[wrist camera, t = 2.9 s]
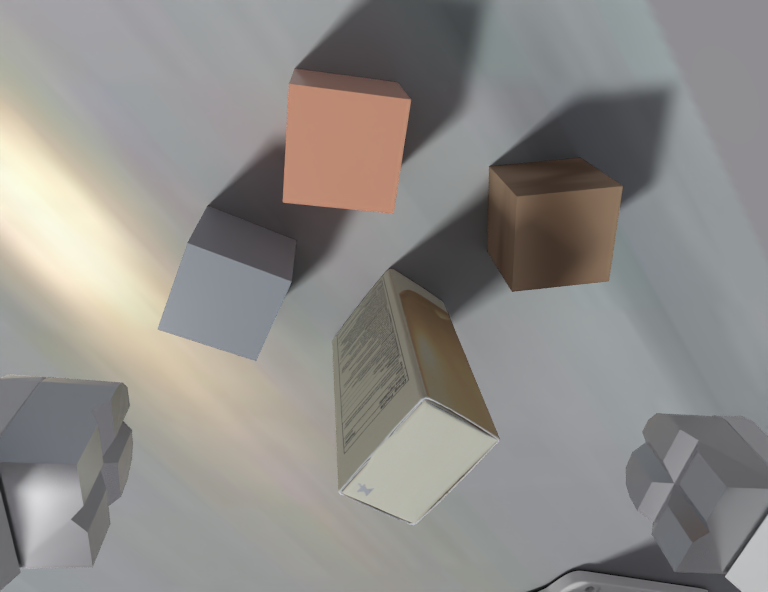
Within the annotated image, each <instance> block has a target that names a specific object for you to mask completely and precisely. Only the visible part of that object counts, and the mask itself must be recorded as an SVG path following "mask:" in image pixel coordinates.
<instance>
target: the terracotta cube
mask: <svg viewBox="0 0 768 592" xmlns="http://www.w3.org/2000/svg"><path fill="white" fill-rule="evenodd" d="M410 105H411V99H410V98H409V96H408V95H407V94H406V92H405V91H404V90H403V89H402V87H401V86H400V85H399V83H398V82H392V81H384V80H377V79H369V78H362V77H355V76H347V75H340V74H332V73H325V72H318V71H310V70H303V69H294V72H293V74H292V77H291V80H290V82H289V93H288V111H287V130H286V148H285V167H284V185H283V203H292V204H302V205H312V206H322V207H332V208H342V209H352V210H362V211H372V212H382V213H392V214H394V208H395V202H396V195H397V189H398V182H399V176H400V169H401V163H402V156H403V150H404V143H405V137H406V130H407V124H408V117H409V111H410Z"/></svg>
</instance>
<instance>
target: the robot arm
mask: <svg viewBox="0 0 768 592" xmlns="http://www.w3.org/2000/svg"><path fill="white" fill-rule="evenodd" d="M129 406H130V403H129V396H128V388H127V386H126V385H125V384H124V383H120V382H107V381H94V380H81V379H69V378H56V377H48V378H45V377H37V376H23V375H7V376H4V377H2V378H0V590H2V589H3V588H4V587H5V586H6V585H7V584H8V583H9V582H11V581H12V580H13V579H14V578H15V577H16V576H17V575H18V574H20V569H26V568H80V567H93V565H94V563H95V560H96V558H97V555H98V553H99V550H100V548H101V545H102V543H103V540H104V538H105V535H106V533H107V531H108V528H109V526H110V516H109V507H108V506H109V505H110V504H112V503H113V502H114V501H116V500H117V499H118V498H120V497H121V495H122V493H123V490H124V487H125V485H126V482H127V479H128V475H129V470H130V466H131V461H132V449H133V438H132V430H131V429H130V428H129V427H128V426H127V425H126V423H125V422H124V421H123V420H124V418H125V415H126V413H127V411H128V409H129ZM643 435H644V438H645V441H646V443H644V444H643V445H642V446H640V447H639V448H638V449H636V450H635V451H633V452H632V454H631V457H630V459H629V462H628V464H627V466H626V486H627V489H628V493H629V496H630V498H631V500H632V502H633V504H634V505H635V507H636V509H637V510H638V511H639V512H640V513H642V514H643V515H644V516H645V517H647V518H648V519H649V520H651V521H652V522H653V528H652V536H653V537H654V539H655V541H656V542H657V544H658V546H659V547H660V549H661V550H662V552H663V554H664V555H665V557H666V559H667V560H668V562H669V564H670V565H671V567H672V569H673V570H674V572H683V573H709V574H726V576H725V577H726V578H727V579H728V580H729V581H730V582H731V583H732V584H733V585H735V586H736V587H737V588H738V589H739V590H740V591H741V592H768V436H767V435H766V434H765V433H764V432H763V431H762V430H761V429H760V428H759V427H758V426H757V425H756V424H755V423H754V422H753V421H751V420H749V419H747V418H745V417H743V416H716V415H714V416H699V415H679V414H659V413H656V414H655V415H654V416H653V417H651V418H650V419H649V420H648V422H647V424H646V426H645V428H644V430H643ZM539 592H709V591H708V590H705V589H701V588H695V587H688V586H681V585H675V584H668V583H661V582H654V581H648V580H641V579H634V578H627V577H621V576H614V575H607V574H600V573H594V572H587V571H574V572H571V573H568V574H566V575H564V576H563V577H561V578H560V579H558V580H557V581H555V582H554V583H553V584H551V585H550V586H548V587H547V588H545V589H543V590H541V591H539Z"/></svg>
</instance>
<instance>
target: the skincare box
mask: <svg viewBox="0 0 768 592" xmlns="http://www.w3.org/2000/svg"><path fill="white" fill-rule="evenodd" d="M332 349H333V372H334V396H335V420H336V444H337V467H338V491H339V494H341V495H343V496H345V497H348V498H350V499H353V500H354V501H356V502H359V503H361V504H363V505H365V506H368V507H370V508H372V509H375V510H377V511H379V512H381V513H384V514H386V515H388V516H391V517H393V518H395V519H398V520H401V521H403V522H406V523H408V524H411V525H415V524H417V523H418V522H419V521H420V520H421V519H422V518H423V517H425V516H426V515H427V514H428V513H429V512H430V511H431V510H432V509H433V508H434V507H435V506H436V505H437V504H438V503H439V502H440V501H442V500H443V499H444V497H446V496H447V495H448V494H449V493H450V491H451V490H453V489H454V488H455V487H456V486H457V485H458V484H459V482H460V481H461V480H462V479H463V478H464V477H465V476H466V475H467V474H468V473H469V472H470V471H471V470H472V469H473V468H474V467H475V466H476V465H477V464H478V463H479V462H480V461H481V460H482V459H483V458H484V457H485V456H486V455H487V454H488V452H489V451H490V450H491V449H492V448H493V447H494V446H495V445H496V444H497V443H498V442H499V440H500V438H499V436H498V433H497V431H496V428H495V426H494V424H493V421H492V419H491V416H490V414H489V411H488V409H487V407H486V404H485V402H484V399H483V397H482V394H481V392H480V390H479V387H478V385H477V382H476V380H475V378H474V375H473V373H472V370H471V368H470V365H469V363H468V360H467V358H466V355H465V353H464V351H463V348H462V346H461V343H460V341H459V339H458V336H457V334H456V332H455V329H454V327H453V324H452V322H451V319H450V317H449V314H448V312H447V309H446V307H445V305H444V303H443V302H442V301H441V300H440V299H438V298H437V297H435V296H434V295H432V294H431V293H430V292H428V291H426V290H425V289H424V288H422V287H421V286H419V285H417V284H416V283H414V282H413V281H411V280H410V279H408V278H407V277H405V276H403V275H402V274H400V273H399V272H397V271H395V270H394V269H389V270H387V271H386V272H385V274H384V275H383V276H382V277H381V278H380V279H379V281H378V282H377V283H376V284H375V286H374V287H373V288H372V289H371V290H370V292H369V293H368V294H367V295H366V297H365V298H364V299H363V301H362V302H361V303H360V304H359V306H358V307H357V308H356V310H355V311H354V312H353V313H352V315H351V316H350V317H349V319H348V320H347V321H346V323H345V324H344V325H343V327H342V328H341V330H340V331H339V332H338V334H337V335H336V336H335V338H334V339H333V341H332Z"/></svg>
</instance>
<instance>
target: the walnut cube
mask: <svg viewBox="0 0 768 592" xmlns="http://www.w3.org/2000/svg"><path fill="white" fill-rule="evenodd" d="M622 189H623V186H622V185H621V184H619V183H618V182H616V181H615V180H613V179H612V178H610V177H609V176H607V175H606V174H604V173H603V172H601V171H600V170H598V169H597V168H595V167H594V166H592V165H591V164H589V163H588V162H586V161H585V160H583V159H582V158H571V159H561V160H550V161H540V162H529V163H519V164H509V165H498V166H489V195H488V236H487V252H488V253H489V255H490V257H491V258H492V260H493V261H494V263H495V265H496V266H497V268H498V270H499V271H500V273H501V275H502V276H503V278H504V279H505V281H506V283H507V284H508V286H509V288H510V289H511V291H512V292H514V291H523V290H532V289H542V288H551V287H560V286H570V285H579V284H588V283H598V282H607V281H609V277H610V270H611V264H612V257H613V250H614V243H615V237H616V230H617V223H618V216H619V210H620V203H621V196H622Z"/></svg>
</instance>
